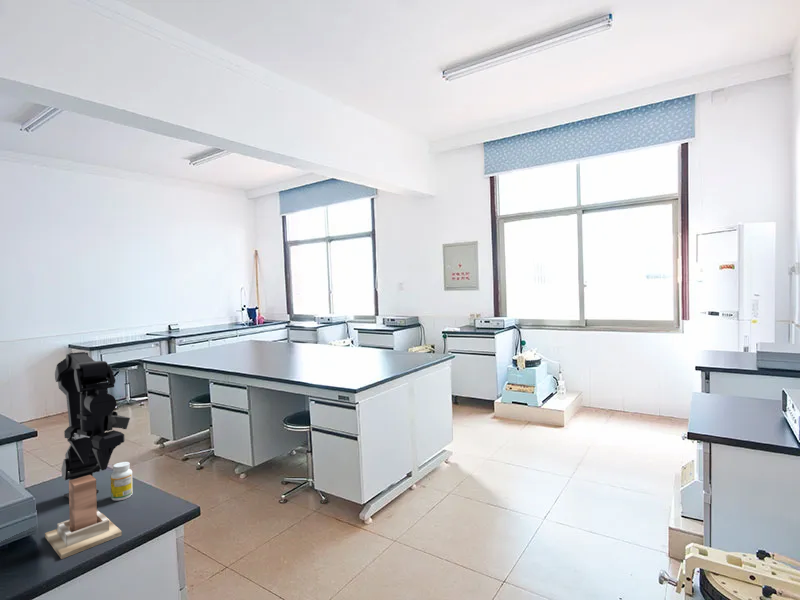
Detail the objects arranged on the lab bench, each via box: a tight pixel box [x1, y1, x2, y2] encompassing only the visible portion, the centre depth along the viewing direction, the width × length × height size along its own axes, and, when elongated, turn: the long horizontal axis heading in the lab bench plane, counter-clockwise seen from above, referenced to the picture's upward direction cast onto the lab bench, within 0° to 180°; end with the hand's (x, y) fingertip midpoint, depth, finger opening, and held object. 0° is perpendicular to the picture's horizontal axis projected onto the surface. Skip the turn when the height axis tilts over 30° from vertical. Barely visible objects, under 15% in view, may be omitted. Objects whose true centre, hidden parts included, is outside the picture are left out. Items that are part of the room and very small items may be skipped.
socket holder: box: [44, 509, 123, 560], centre depth 105 cm, size 14×12×4 cm
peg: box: [68, 475, 98, 532], centre depth 105 cm, size 4×4×13 cm
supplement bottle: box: [110, 461, 134, 502], centre depth 125 cm, size 5×5×10 cm
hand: (94, 466), depth 115 cm, fingers open, 9 cm apart
